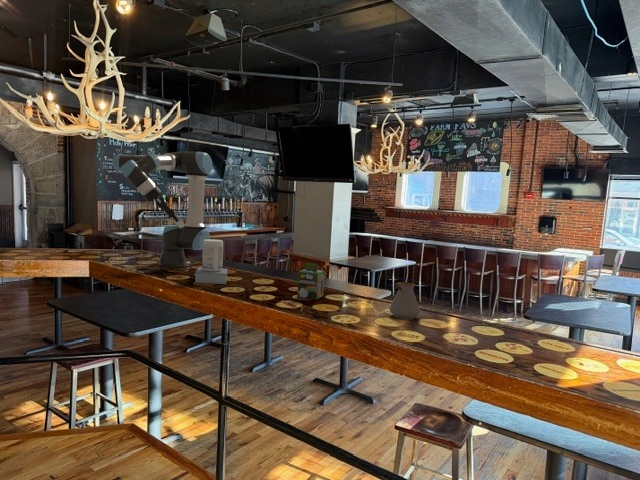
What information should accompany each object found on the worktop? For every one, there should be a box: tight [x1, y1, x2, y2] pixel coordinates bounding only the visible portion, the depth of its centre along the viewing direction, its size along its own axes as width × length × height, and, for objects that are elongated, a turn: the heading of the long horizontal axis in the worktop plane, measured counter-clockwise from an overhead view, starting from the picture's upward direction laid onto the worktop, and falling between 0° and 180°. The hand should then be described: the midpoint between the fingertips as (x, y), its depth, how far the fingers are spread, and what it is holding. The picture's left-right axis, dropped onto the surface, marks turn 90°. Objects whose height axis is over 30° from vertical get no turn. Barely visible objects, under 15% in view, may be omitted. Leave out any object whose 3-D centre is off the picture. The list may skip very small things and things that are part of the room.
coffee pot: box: [388, 281, 421, 321], centre depth 161 cm, size 21×12×15 cm, turn 153°
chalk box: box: [296, 262, 325, 301], centre depth 190 cm, size 9×9×15 cm
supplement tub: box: [201, 238, 224, 272], centre depth 211 cm, size 10×10×15 cm
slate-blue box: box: [194, 267, 228, 285], centre depth 212 cm, size 15×14×5 cm
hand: (181, 225), depth 207 cm, fingers open, 13 cm apart
